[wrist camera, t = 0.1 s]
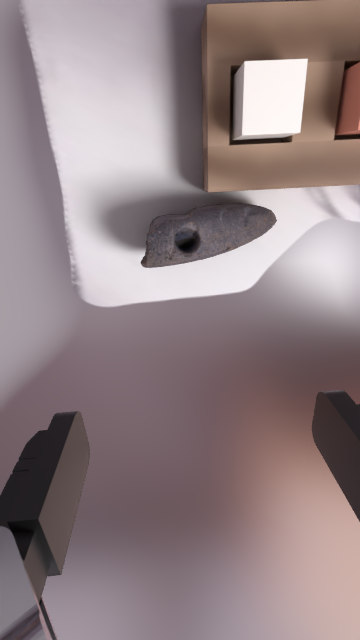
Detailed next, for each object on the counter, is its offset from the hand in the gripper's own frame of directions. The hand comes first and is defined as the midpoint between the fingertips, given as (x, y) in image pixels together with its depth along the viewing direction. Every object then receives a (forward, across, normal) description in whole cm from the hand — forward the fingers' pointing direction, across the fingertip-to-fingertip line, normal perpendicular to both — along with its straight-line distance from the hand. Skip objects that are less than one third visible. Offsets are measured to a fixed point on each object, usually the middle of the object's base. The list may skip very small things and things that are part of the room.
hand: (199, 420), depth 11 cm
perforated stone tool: (+29, -4, -2) cm, 30 cm away
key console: (+29, -14, -13) cm, 35 cm away
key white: (+26, -9, -13) cm, 30 cm away
